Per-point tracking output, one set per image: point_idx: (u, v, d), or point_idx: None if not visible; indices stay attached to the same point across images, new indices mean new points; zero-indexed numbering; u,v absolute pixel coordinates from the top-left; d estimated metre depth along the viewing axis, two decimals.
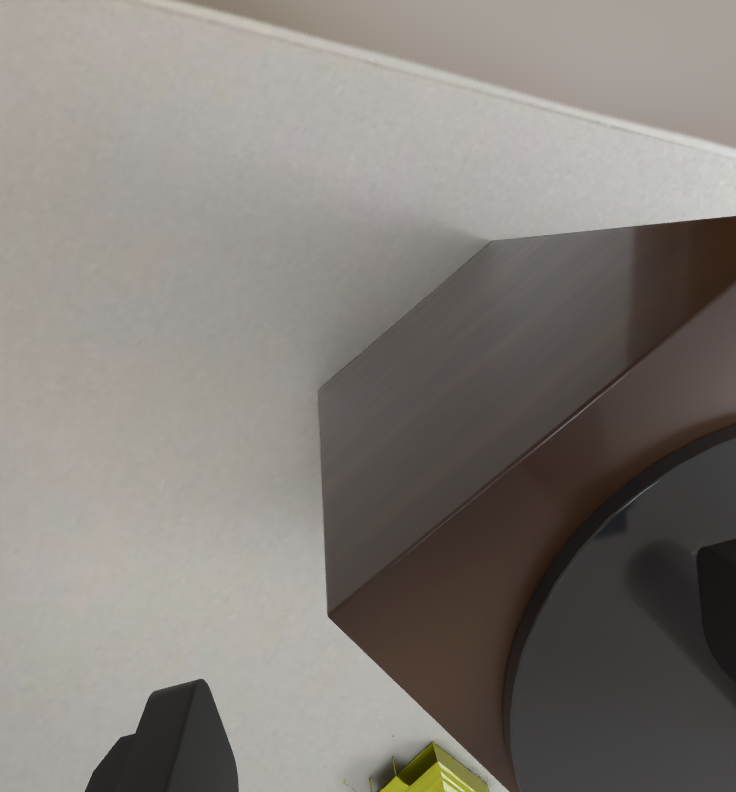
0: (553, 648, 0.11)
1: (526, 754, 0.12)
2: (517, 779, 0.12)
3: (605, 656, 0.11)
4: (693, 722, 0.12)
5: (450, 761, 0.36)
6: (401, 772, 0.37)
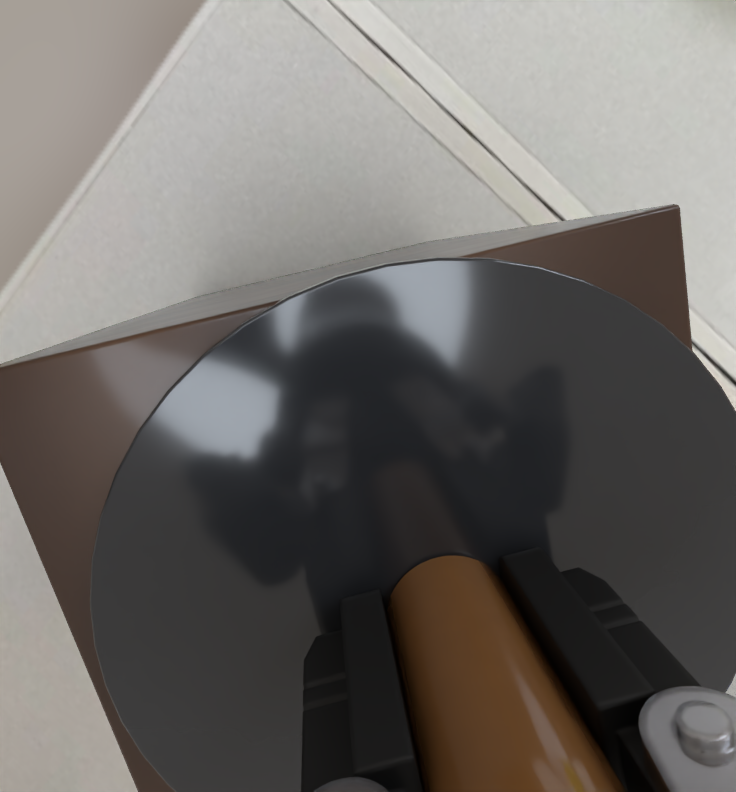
0: None
1: None
2: None
3: (279, 767, 0.11)
4: None
5: None
6: None
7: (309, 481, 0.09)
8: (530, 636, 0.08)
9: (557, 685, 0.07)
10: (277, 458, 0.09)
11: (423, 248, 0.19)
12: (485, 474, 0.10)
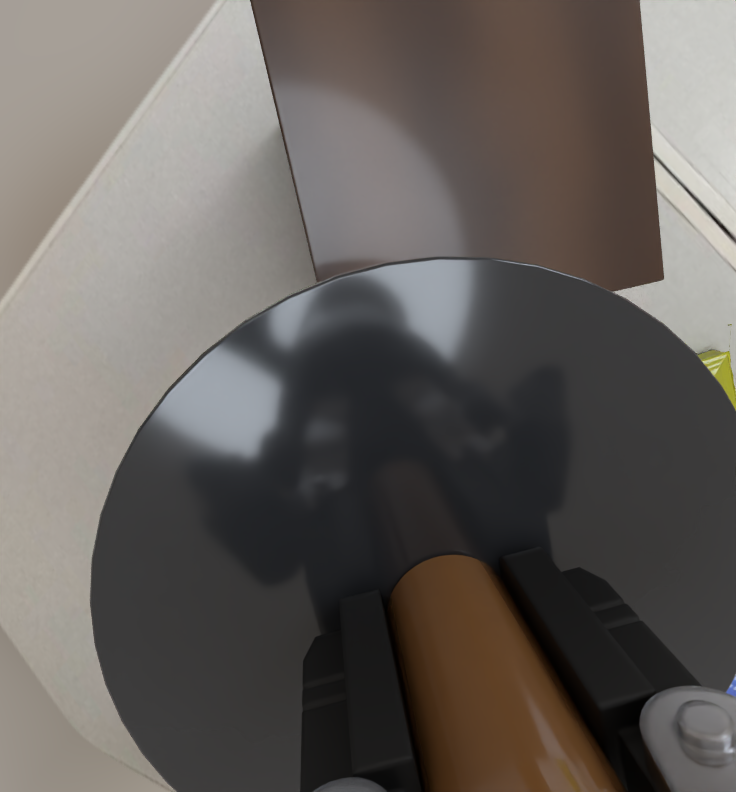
0: None
1: None
2: None
3: (279, 767, 0.11)
4: None
5: None
6: None
7: (309, 480, 0.09)
8: (530, 635, 0.08)
9: (557, 684, 0.07)
10: (277, 457, 0.09)
11: None
12: (485, 473, 0.10)
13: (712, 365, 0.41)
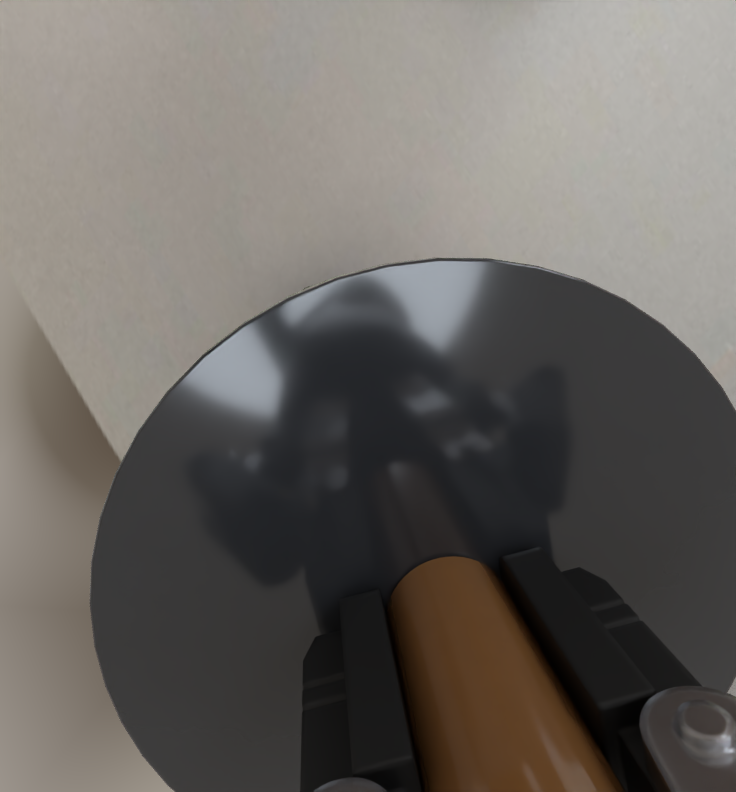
0: None
1: None
2: None
3: (279, 768, 0.11)
4: None
5: None
6: None
7: (309, 482, 0.09)
8: (530, 637, 0.08)
9: (557, 687, 0.07)
10: (277, 459, 0.09)
11: None
12: (485, 475, 0.10)
13: None
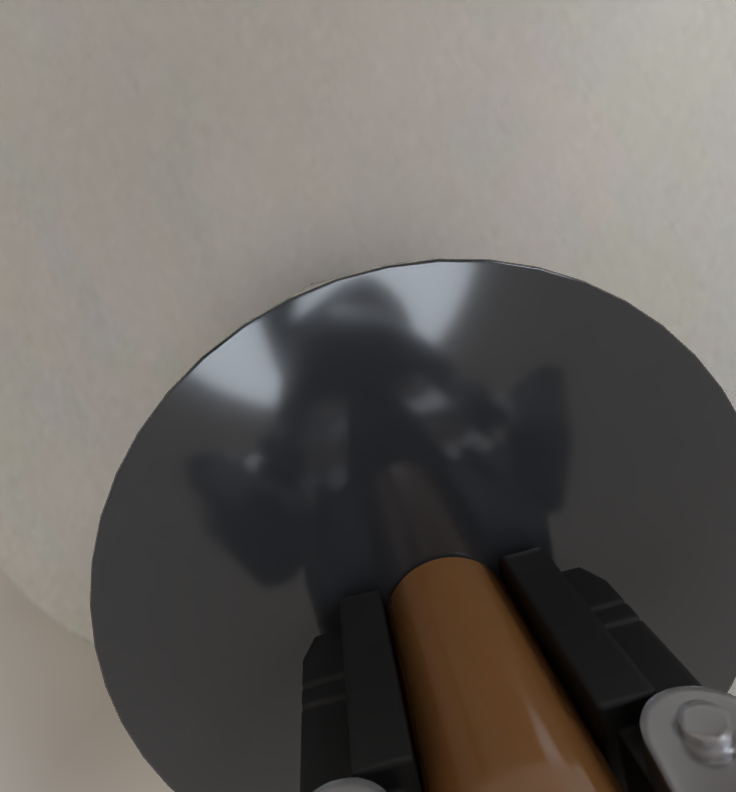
0: None
1: None
2: None
3: (279, 768, 0.11)
4: None
5: None
6: None
7: (309, 483, 0.09)
8: (530, 638, 0.08)
9: (557, 687, 0.07)
10: (277, 460, 0.09)
11: None
12: (485, 476, 0.10)
13: None
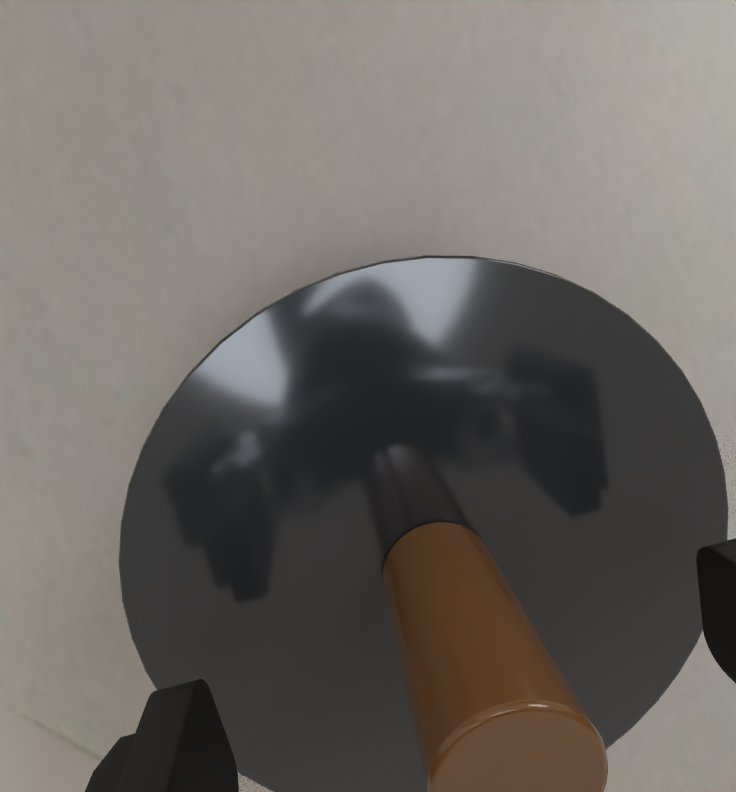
0: (251, 752, 0.12)
1: None
2: None
3: (287, 714, 0.12)
4: None
5: None
6: None
7: (313, 454, 0.11)
8: (507, 586, 0.09)
9: (527, 623, 0.08)
10: (285, 433, 0.10)
11: None
12: (470, 449, 0.11)
13: None
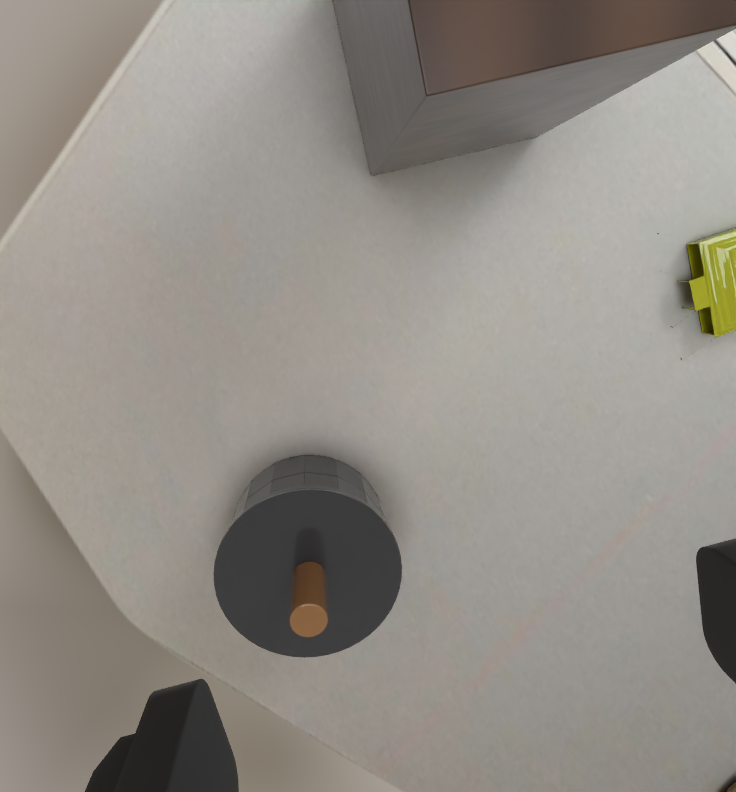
0: (252, 633, 0.38)
1: (284, 651, 0.39)
2: None
3: (263, 621, 0.38)
4: None
5: (710, 237, 0.42)
6: None
7: (270, 542, 0.37)
8: (320, 580, 0.35)
9: (320, 589, 0.34)
10: (262, 536, 0.36)
11: None
12: (317, 540, 0.37)
13: None
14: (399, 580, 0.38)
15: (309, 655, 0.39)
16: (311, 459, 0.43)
